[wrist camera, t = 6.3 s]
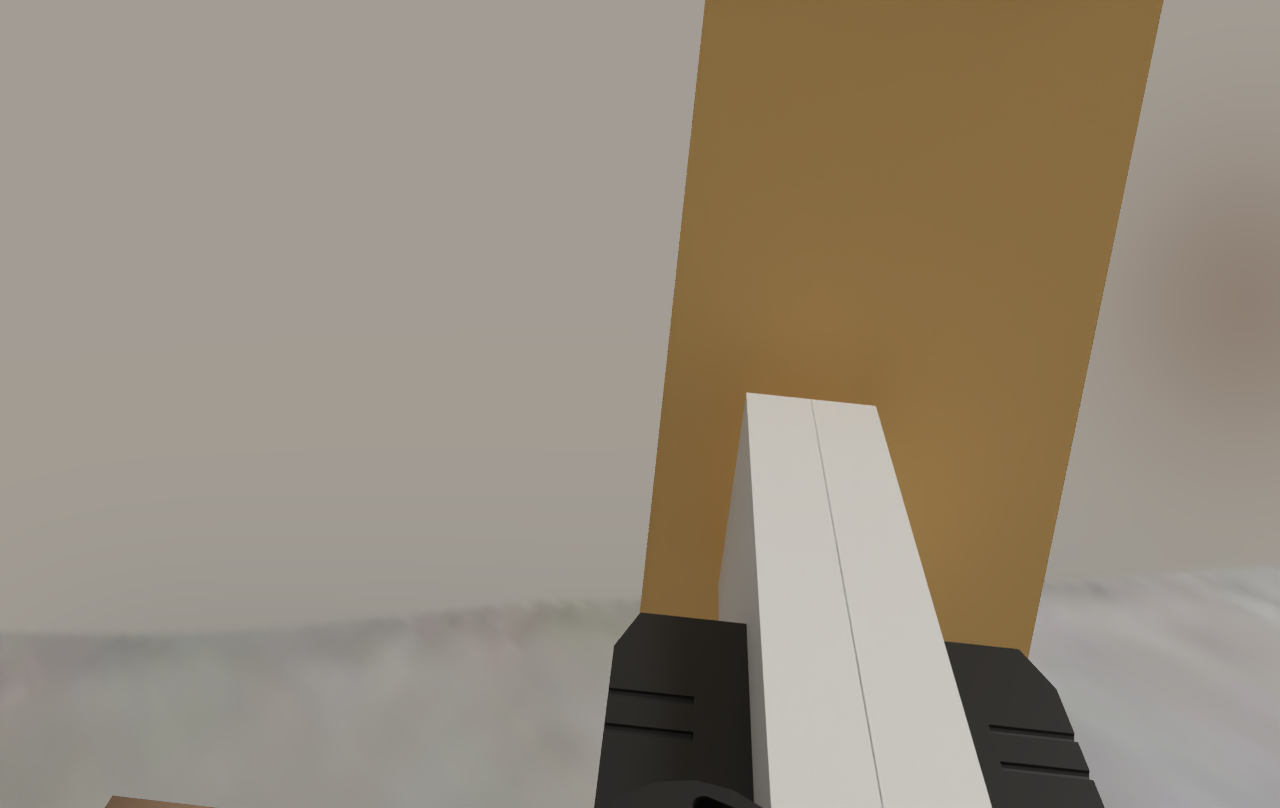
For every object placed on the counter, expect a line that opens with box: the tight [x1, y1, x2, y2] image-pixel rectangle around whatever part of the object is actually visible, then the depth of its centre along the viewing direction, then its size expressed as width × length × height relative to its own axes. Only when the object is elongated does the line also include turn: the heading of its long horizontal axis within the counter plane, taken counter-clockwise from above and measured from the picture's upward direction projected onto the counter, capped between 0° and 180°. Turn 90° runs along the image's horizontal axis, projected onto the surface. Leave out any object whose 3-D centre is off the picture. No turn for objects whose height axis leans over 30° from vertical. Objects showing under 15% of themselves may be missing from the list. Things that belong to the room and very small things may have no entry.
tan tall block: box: [640, 0, 1163, 658], centre depth 15 cm, size 5×2×18 cm, turn 86°
